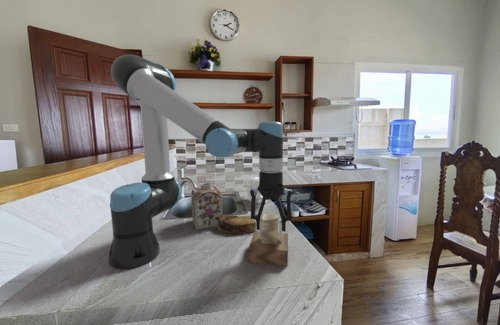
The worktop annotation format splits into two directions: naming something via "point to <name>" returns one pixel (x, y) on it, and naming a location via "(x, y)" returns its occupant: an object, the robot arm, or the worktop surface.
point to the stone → (236, 224)
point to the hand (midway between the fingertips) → (271, 239)
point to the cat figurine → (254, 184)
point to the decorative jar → (206, 206)
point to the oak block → (269, 229)
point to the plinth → (269, 250)
